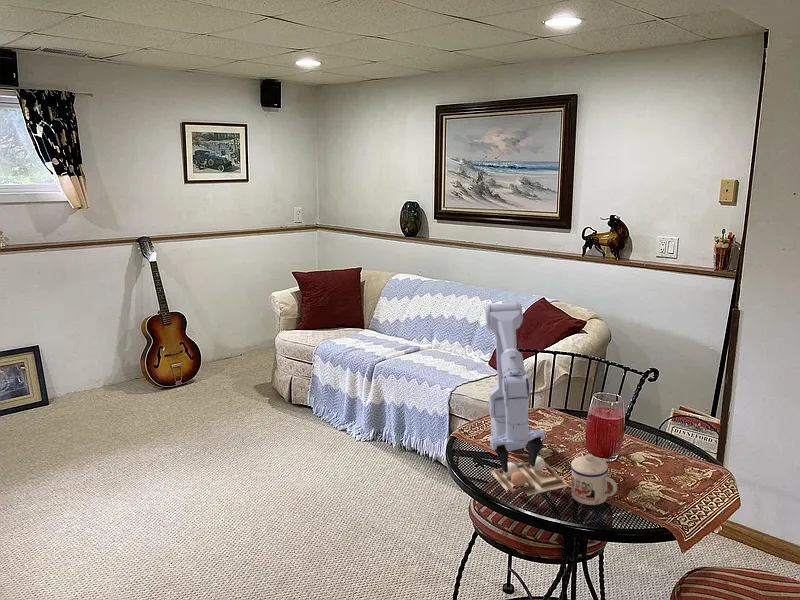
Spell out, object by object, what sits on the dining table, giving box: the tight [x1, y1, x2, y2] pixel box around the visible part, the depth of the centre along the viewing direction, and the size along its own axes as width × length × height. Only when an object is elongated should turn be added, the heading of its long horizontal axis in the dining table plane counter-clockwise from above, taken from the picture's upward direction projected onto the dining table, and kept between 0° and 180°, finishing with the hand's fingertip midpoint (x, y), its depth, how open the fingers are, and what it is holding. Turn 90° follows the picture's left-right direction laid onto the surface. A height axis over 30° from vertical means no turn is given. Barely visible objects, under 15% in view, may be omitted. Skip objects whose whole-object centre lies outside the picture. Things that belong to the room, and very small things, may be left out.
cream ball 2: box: [530, 456, 546, 472], centre depth 181 cm, size 4×4×4 cm
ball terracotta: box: [511, 471, 526, 487], centre depth 175 cm, size 4×4×4 cm
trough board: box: [489, 460, 570, 497], centre depth 179 cm, size 15×16×1 cm
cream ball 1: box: [503, 461, 518, 478], centre depth 180 cm, size 4×4×4 cm
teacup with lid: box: [570, 453, 618, 506], centre depth 166 cm, size 12×9×12 cm
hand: (518, 467), depth 174 cm, fingers open, 7 cm apart
